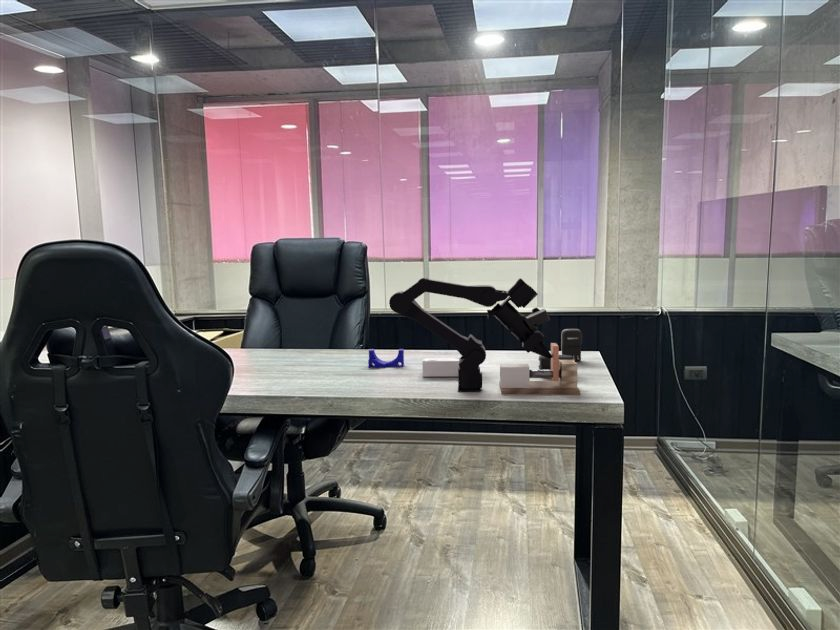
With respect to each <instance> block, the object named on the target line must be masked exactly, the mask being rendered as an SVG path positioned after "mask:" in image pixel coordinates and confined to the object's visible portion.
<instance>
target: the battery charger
mask: <svg viewBox="0 0 840 630" xmlns="http://www.w3.org/2000/svg"><path fill="white" fill-rule="evenodd" d="M560 339H561V342H560V344H561V345H560V346H561V347H560V348H561V355H571V356H572V357H573V360H574V361H576V362H581V360H582V344H583V334H582V331H581V330H580V329H579V328H565V329H563V330H562V331H561V335H560Z"/></svg>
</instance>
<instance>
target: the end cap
mask: <svg viewBox="0 0 840 630" xmlns="http://www.w3.org/2000/svg"><path fill="white" fill-rule="evenodd" d="M559 360H573V357H572V356H571V355H562V354H559ZM538 362H539V364H538V370H551V359H548V358H546V357H543V356H541V355H539V357H538Z"/></svg>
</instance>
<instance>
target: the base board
mask: <svg viewBox="0 0 840 630" xmlns="http://www.w3.org/2000/svg"><path fill="white" fill-rule="evenodd" d="M499 389H500V392H501V395H502V394H545V396H546V394H550V395H551V394H564V395H563V396H567V395H574V396H575V395H576V396H577V395H578V396H579V395H581V390H580V389H579V387H578V386H577V388H561V386H560V385H559V381H553V380H529V388H501V386H500V385H499ZM565 394H566V395H565Z"/></svg>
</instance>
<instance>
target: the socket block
mask: <svg viewBox="0 0 840 630" xmlns="http://www.w3.org/2000/svg"><path fill="white" fill-rule="evenodd" d="M559 370H561V378H559V385H560V386H561V388H577V387H578V362H577V361H576V362H575V361H574V360H559Z"/></svg>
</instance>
